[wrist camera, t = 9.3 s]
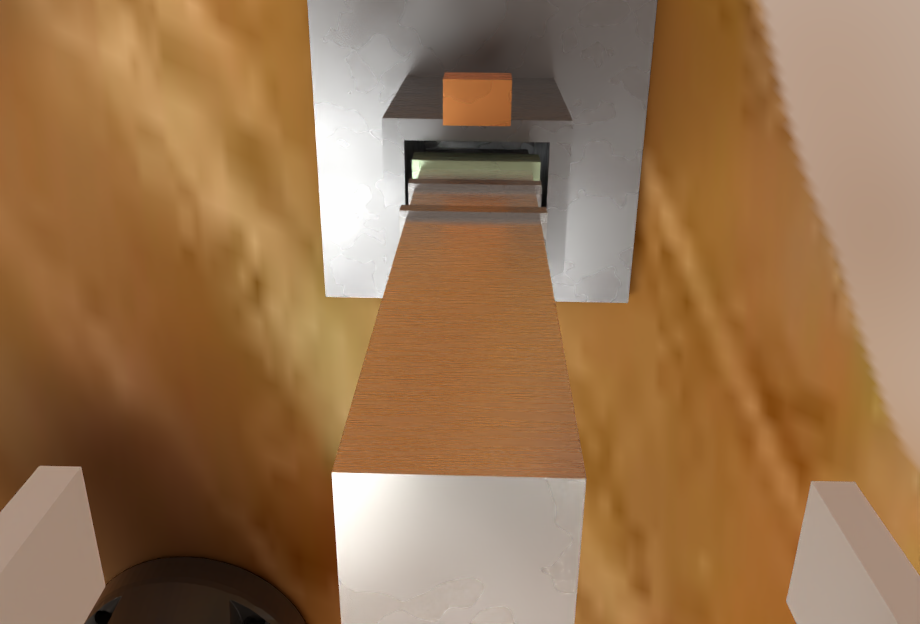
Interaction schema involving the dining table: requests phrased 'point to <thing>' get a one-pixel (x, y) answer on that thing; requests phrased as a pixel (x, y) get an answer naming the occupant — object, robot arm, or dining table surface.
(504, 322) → the column
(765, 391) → the dining table surface
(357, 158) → the stand
